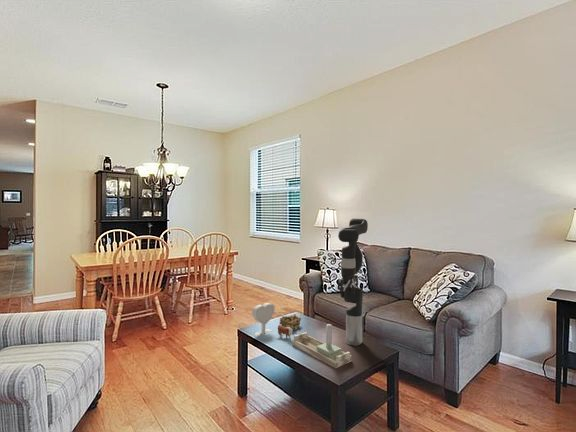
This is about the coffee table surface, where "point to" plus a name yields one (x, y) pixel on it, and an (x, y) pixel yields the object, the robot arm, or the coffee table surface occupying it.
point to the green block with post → (329, 345)
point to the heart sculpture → (263, 315)
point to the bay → (310, 347)
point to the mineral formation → (290, 321)
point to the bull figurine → (284, 331)
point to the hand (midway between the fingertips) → (348, 295)
